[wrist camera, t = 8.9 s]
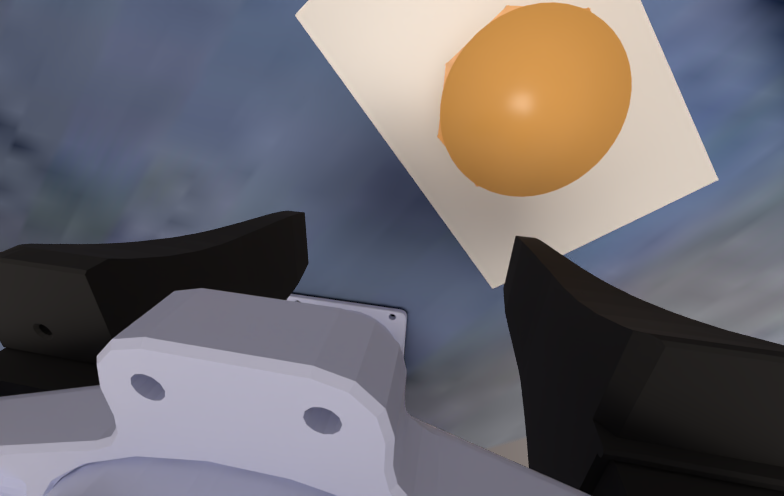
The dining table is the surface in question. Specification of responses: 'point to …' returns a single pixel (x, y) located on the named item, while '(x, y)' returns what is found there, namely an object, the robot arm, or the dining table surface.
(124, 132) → the dining table surface
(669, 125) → the plate
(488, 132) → the cap
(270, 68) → the dining table surface
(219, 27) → the dining table surface
